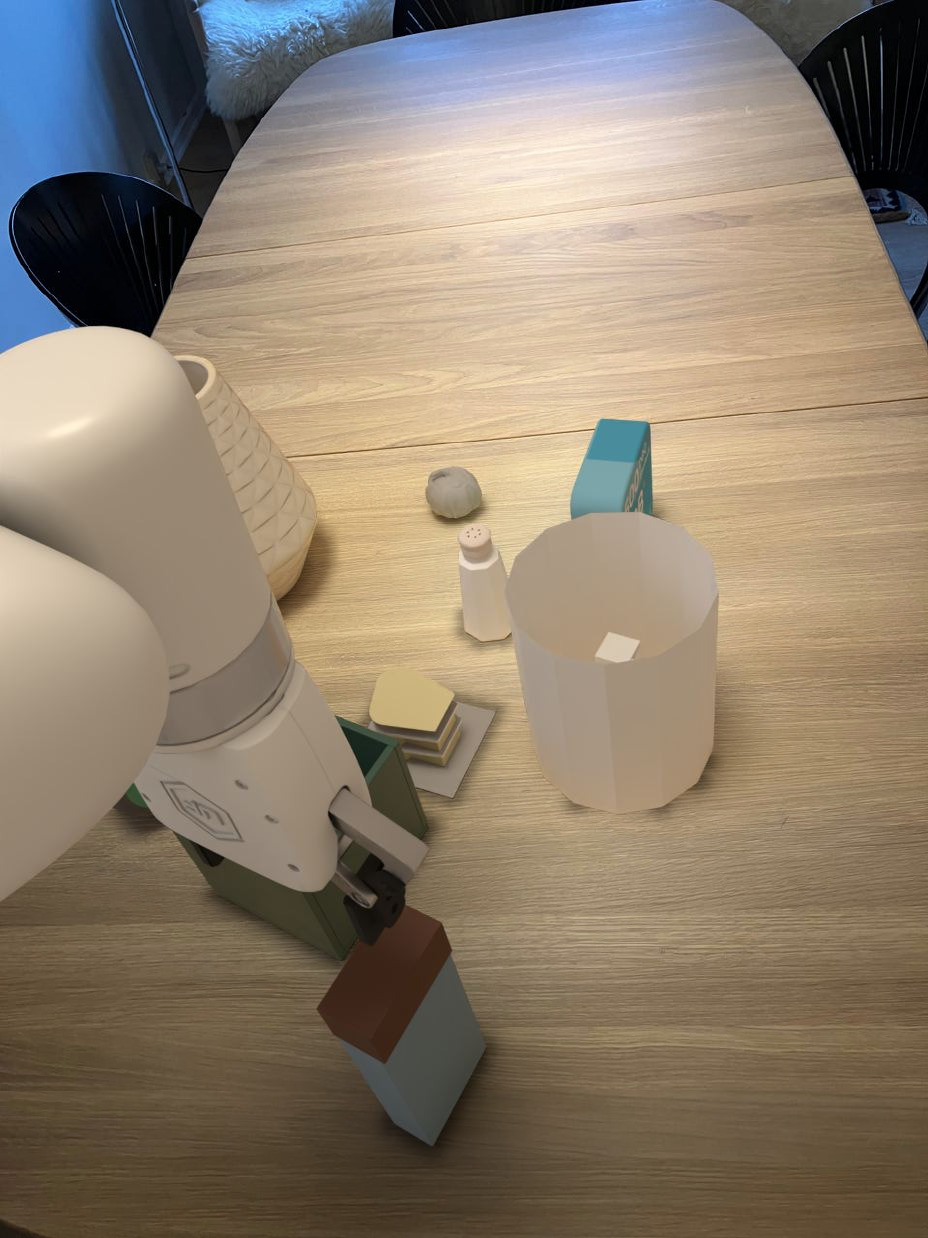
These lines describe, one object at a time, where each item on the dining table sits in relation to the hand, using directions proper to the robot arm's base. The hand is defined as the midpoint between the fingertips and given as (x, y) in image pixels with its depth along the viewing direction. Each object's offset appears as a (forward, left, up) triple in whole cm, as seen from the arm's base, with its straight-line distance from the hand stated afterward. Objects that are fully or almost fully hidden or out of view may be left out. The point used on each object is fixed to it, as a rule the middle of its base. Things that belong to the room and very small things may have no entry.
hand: (303, 879), depth 51 cm
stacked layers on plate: (+23, +13, -25) cm, 36 cm away
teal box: (+49, +7, -25) cm, 55 cm away
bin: (+10, +14, -25) cm, 30 cm away
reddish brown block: (0, -3, -10) cm, 10 cm away
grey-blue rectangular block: (0, -3, -25) cm, 25 cm away
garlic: (+49, +25, -25) cm, 60 cm away
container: (+30, -2, -25) cm, 39 cm away
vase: (+33, +40, -25) cm, 57 cm away
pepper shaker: (+37, +14, -25) cm, 46 cm away
